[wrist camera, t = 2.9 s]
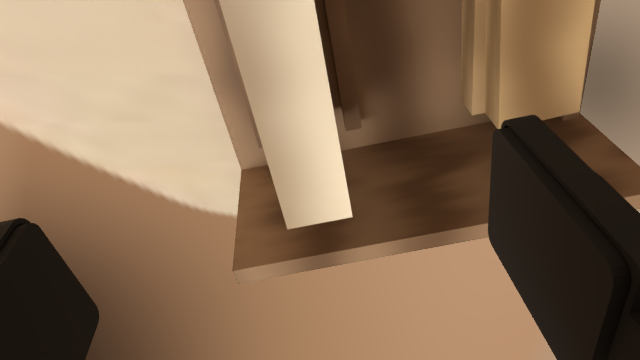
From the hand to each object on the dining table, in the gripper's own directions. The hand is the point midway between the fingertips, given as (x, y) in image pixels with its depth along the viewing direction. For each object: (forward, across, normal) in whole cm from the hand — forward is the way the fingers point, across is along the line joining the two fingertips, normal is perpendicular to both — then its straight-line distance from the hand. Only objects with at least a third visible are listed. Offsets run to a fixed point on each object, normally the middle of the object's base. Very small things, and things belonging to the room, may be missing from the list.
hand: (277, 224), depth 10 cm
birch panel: (+18, 0, -1) cm, 18 cm away
